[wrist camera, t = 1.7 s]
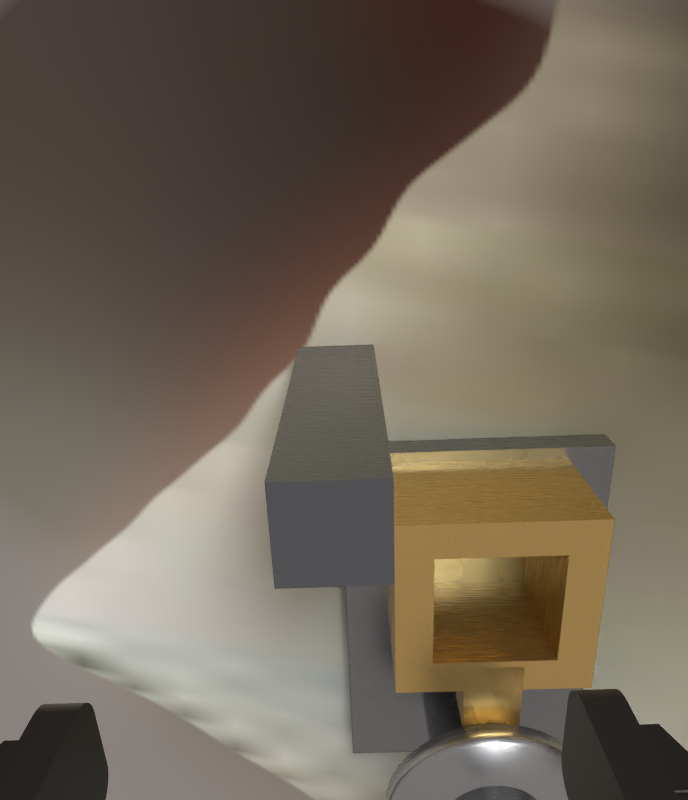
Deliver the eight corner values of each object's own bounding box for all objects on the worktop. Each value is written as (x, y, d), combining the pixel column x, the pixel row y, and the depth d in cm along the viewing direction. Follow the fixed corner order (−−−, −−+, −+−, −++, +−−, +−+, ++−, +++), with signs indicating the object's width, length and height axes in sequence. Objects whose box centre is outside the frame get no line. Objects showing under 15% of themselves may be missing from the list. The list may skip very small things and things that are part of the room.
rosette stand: (340, 443, 28) (335, 662, 16) (604, 434, 28) (809, 649, 16) (353, 746, 35) (357, 1065, 23) (565, 741, 35) (687, 1060, 22)
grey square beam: (299, 347, 26) (264, 482, 15) (373, 344, 26) (393, 478, 15) (303, 416, 28) (274, 588, 16) (374, 413, 28) (394, 585, 16)
